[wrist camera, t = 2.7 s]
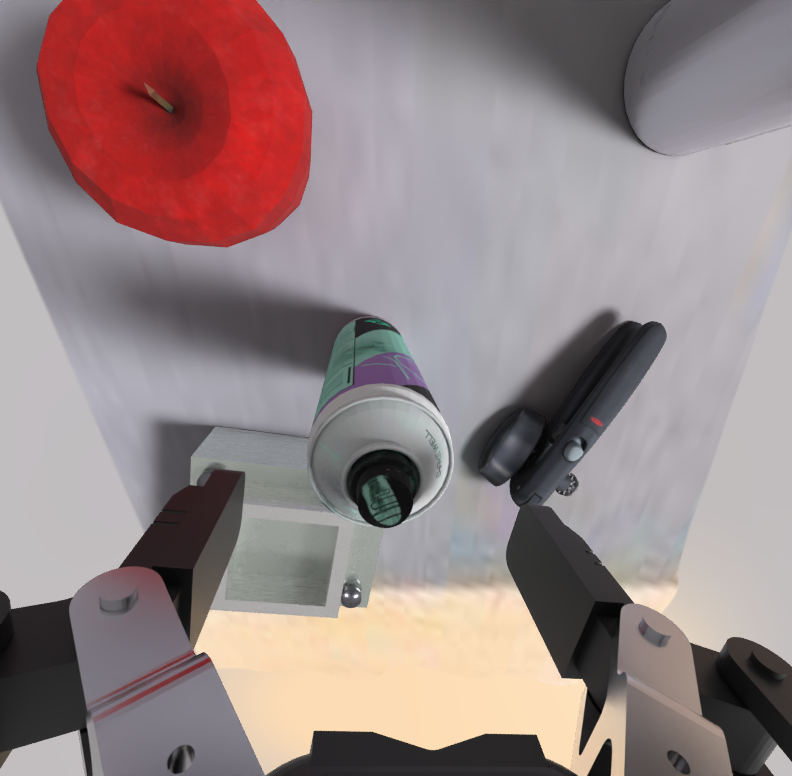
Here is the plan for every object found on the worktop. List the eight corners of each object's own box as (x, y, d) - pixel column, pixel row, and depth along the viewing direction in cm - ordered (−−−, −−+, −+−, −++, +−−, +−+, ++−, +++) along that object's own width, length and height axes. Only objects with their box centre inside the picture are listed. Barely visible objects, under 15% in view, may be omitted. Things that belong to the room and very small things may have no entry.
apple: (288, 44, 24) (210, -188, 12) (350, 216, 28) (343, 185, 15) (128, 106, 25) (-121, -52, 12) (209, 269, 28) (84, 284, 15)
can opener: (520, 496, 37) (547, 537, 32) (464, 457, 35) (483, 494, 30) (664, 346, 33) (722, 364, 28) (610, 294, 31) (661, 302, 26)
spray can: (377, 397, 32) (403, 603, 13) (319, 359, 31) (257, 529, 12) (418, 343, 31) (511, 483, 12) (360, 301, 30) (364, 386, 11)
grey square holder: (388, 448, 34) (396, 500, 27) (365, 562, 37) (367, 635, 30) (215, 426, 32) (175, 475, 25) (209, 549, 35) (171, 623, 28)
